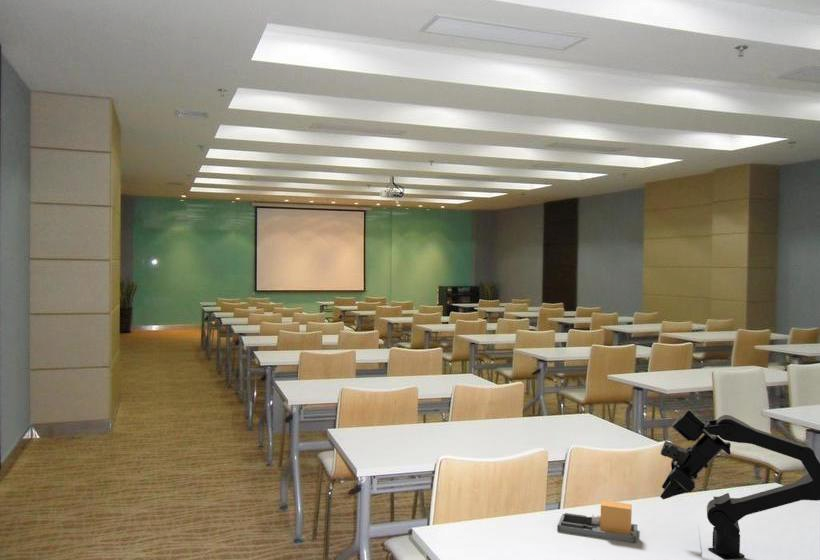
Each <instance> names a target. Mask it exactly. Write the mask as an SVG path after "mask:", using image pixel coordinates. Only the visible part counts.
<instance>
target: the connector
mask: <svg viewBox="0 0 820 560" xmlns="http://www.w3.org/2000/svg"><path fill="white" fill-rule="evenodd" d="M632 506H633V505H632V503H625V502H619V501H618V502H617V501H609V500H604V499H603V500H601V503H600V515H598V514H597V515H596V514H592V515H591V517H592V524H599V525H600V531H604V532H611V533H617V534H624V535H631V524H632V519H633V518H632V515H633V514H632V513H633V512H632V509H633V507H632Z"/></svg>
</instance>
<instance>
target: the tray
mask: <svg viewBox="0 0 820 560" xmlns="http://www.w3.org/2000/svg"><path fill="white" fill-rule="evenodd" d="M556 527H557V528H556V530H557V532H561V533H567V534H575V535H581V536H588V537H594V538H601V539H605V540H612V541H613V540H614V541H621V542H628V543H633V544H636V543H637V534H638V524H634V523H631V535H624V534H617V533H611V532H604V531H600V525H599V524H592V516H587V515H582V514H576V513H571V512H570V513H568V512H564V513H562V515H561V516H560V519H559V521H558V523H557V526H556Z"/></svg>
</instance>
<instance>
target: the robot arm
mask: <svg viewBox="0 0 820 560" xmlns="http://www.w3.org/2000/svg"><path fill="white" fill-rule="evenodd" d="M670 427H671V428H672V429H673V430H674V431H676V432H677V434H679V435H680V436H681V437H682V438H684V440H686V441H687V442H689V441H691V442H695V443H694V444H693V445H691V446H688V447H686V449H685V448H683V446H682V447H681V446H680V445H677V444H674V443H672V442H670V441H667V440H665V441H664V443H663V445H662V447H661V450H660V455H661V456H663V457H664V458H666V457H667V458H669V459H671V461H670V462H671V463H670V467H671V470H670V472H669V474H668V475H667V477H666V479H665V480H664V482H663V484H662V485H661V488H662V489H663V491H662V493H661V494H660V498H661V499H662V500H666V499H670V498H672V497H675V496H679V495H682V494H685V493H691V492H692V491H693V490H694V489H695V488H696V481H695V480H696V479H697V478H698V476H699V474H700V473H701V472H702V471H703V469H707V468H708V467H709V464H710V463H711V462H712V461H713V460H714V459H715V458H716V457H717V456H718V455H719V454H720V453H721V452H722V451H723V452H725V453H726V454H727V455H731V454H732V453H731V446H732V445H731V442H732V443H737V444H738V443H739V444H749V445H754V446H757V447H759V448H763V449H766V450H769V451H771V452H775V453H778V454H781V455H783V456H787V457H789V458H793V459H796V460H798V461H800V462H801V463H802V465H803V467H804V469H805V470H806V471H807V474H805V475H803V476H801V477H800V478H799V479H797V480H796V481H794V482H793V483H789V484H785V485H780V486H778V487H775V488H770V489H767V490H764V491H761V492H757V493H754V494H749V495H746V496H741V497H734V498H733V497H731V496H730V493H729V492H728V493H724V494H722V495H720V496H713V499H711V500H710V501H708V503H707V505H706V518H707V520H708V522H709V524H710V525H712V527H713V531H712V547H708V548H707V551H709V552H710V553H713V554H714V555H715V556H718V557H719V558H721V559H723V560H732V559H741V558H745V554H744V553H742V552H741V534H740V533H741V530H740V524H739V521H740V520H742V519H743V518H744V517H746V516H748V515H753V514H756V513H760V512H764V511H767V510H772V509H775V508H778V507H781V506H785V505H786V506H787V505H790V504H794V503H796V502H797V503H798V502H800V501H812V502H813V501H815V502H816V501H817V502H818V501H820V461H819V459H818V457H817V456H816V453H815V452H814V450H813V448H812V447H811V446H810V445H808V444H806V443H800V442H797V441H795V440H791V439H789V438H784V437H782V436H778V435H776V434H772V433H769V432H766V431H763V430H761V429H757V428H754V426H751V425H749V424H747V423H745V422H744V421H742V420H740V419H738V418H735V417H734V416H732V415H728V414H723V415H721V416H719V417H718V418H717V419H712V420H704V421H703V420H702V419H701V418H699V416H697V415H696V414H695V413H694V412H693V411H692V410H691V408H690V409H687V410H686V411H685V412H683V413H682V414H681V415H678V417H677V418H676V419H675V420H674V422H672V424H671V426H670ZM702 434H703V435H702Z"/></svg>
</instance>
